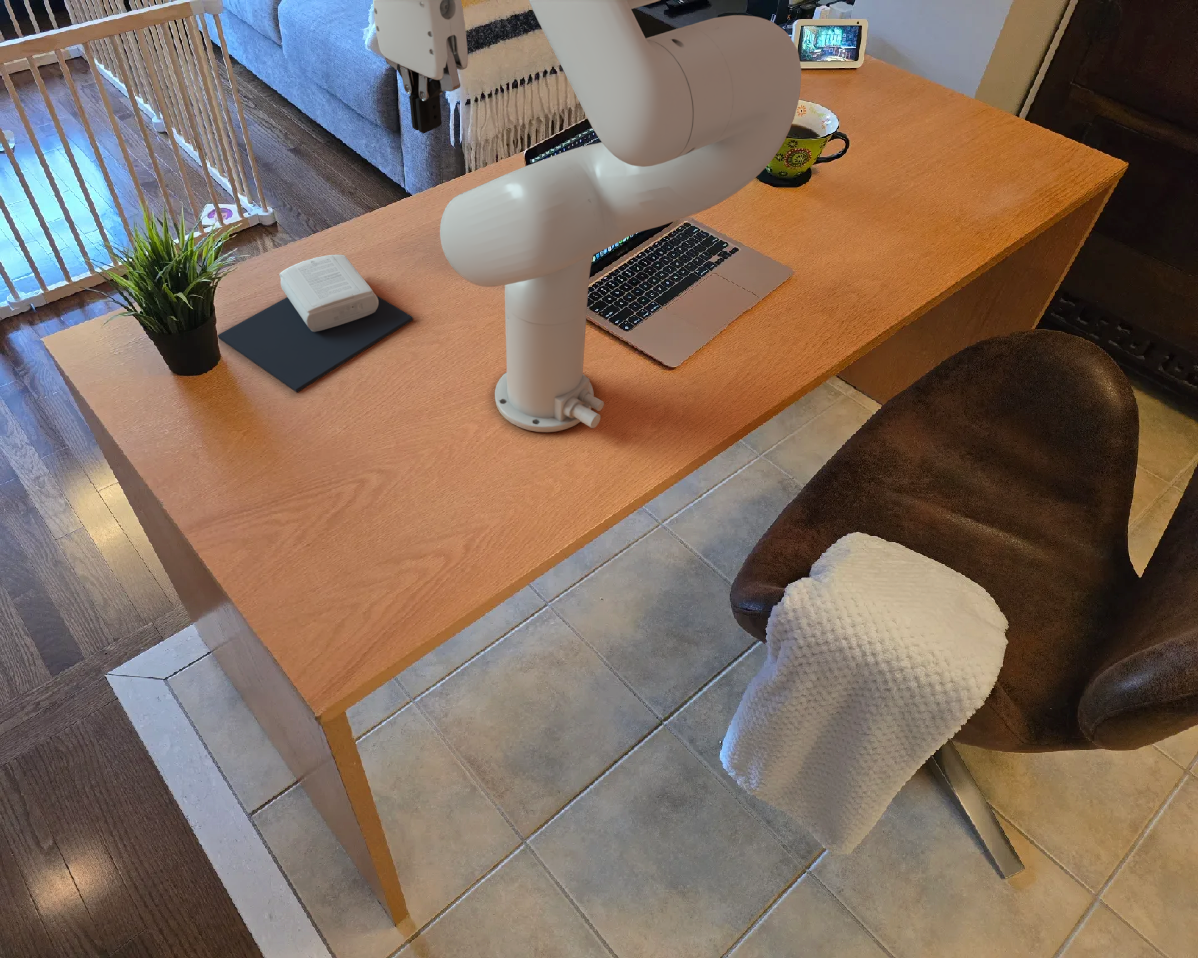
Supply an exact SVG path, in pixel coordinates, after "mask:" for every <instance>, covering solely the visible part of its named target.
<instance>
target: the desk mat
mask: <svg viewBox="0 0 1198 958" xmlns="http://www.w3.org/2000/svg"><path fill="white" fill-rule="evenodd" d="M375 295H376V296H377V298H378V307H377V309H376V311H375V312H374V313H372V314H370V315H367V316H365V317H362V318H359V319H356V320H353V321H350V322H347V323H344V324H341V325H338V326H335V327H332V328H328V329H325V330H321V331H316V332H313V331H311V330H310V328H309V327H308V326H307V325H306V323H305V322H304V320H303V319H302V317H301V316H300V315H299V313H298V312H297V310H296V309H295V307H294V306H293V304H292V303H291V301H290V300H289V299H288V297H287V296H286V297H285V298H283V299H281V300H279V301H278V302H275V303H274V304H272V305H270V306H269V307H266V308H265V309H262V310H261V311H259V312H257V313H255V314H254V315H252V316H249V317H248V318H246V319H244V320H243V321H241V322H239V323H237V324H235V325H234V326H232V327H229V328H228V329H226V330H224V331H222V332H221V333H219V334H217V337H218V339H219V340H220V341H222V342H223V343H225V344H226V345H227V346H228V347H230V348H232V349H233V350H235V351H236V352H238V353H239V354H241V355H242V356H244V357H245V358H246V359H248V360H249V361H251V362H252V363H253V364H255V365H256V366H258V367H259V368H261V369H262V370H264V371H265V372H266V373H268V374H270V375H271V376H272V377H273V378H275V379H277V380H278V381H280V383H282V384H284V385H285V386H286V387H288V388H289V389H291V390H292V391H294V392H295V393H299V392H301V391H302V390H303V389H305V388H307V387H308V386H310V385H312V384H313V383H315V382H317V381H318V380H321V378H323V377H324V376H326V375H328V374H329V373H331V372H333V371H334V370H336V369H337V368H339V367H341V366H342V365H344V364H345V363H347V362H349V361H350V360H352V359H354V358H355V357H356V356H358V355H360V354H361V353H363V352H364V351H366V350H368V349H369V348H371V347H372V346H374V345H376V344H377V343H379V342H380V341H382V340H384V339H385V338H387V337H388V336H390V335H391V334H394V333H395V332H397V331H398V330H400V329H402V328H403V327H405V326H406V325H408V324H410V323H411V322H412V321H414V316H412V315H410V314H408V313H407V312H406V311H404V310H402V309H400V308H399V307H397V306H396V305H394V304H392V303H390V302H388V301H387V300H386V299H384V298H382V297H380V296H378V294H375Z"/></svg>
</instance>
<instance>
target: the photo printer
mask: <svg viewBox="0 0 1198 958" xmlns="http://www.w3.org/2000/svg"><path fill="white" fill-rule="evenodd" d="M278 275H279V279H280V287H281V289H282V291H283V293H284V294H285V296H286V297H288V299H289V300H290V301H291V303H292V304H293V306H294V307H295V309H296V310H297V312H298V313H299V315H300V316H301V317H302V319H303V320H304V322H305V323H306V325H307V326H308V327H309V328H310V330H311V331H313V332H316V331H321V330H325V329H328V328H332V327H335V326H338V325H341V324H344V323H347V322H350V321H353V320H356V319H359V318H362V317H365V316H367V315H370V314H372V313H374V312H375V311H376V309H377V307H378V298H377V296H378V295H377V294H375V291H373V289H372V287H371V286H370V285H369V283H368V282H367V281H366V280H365V279H364V277H363V276H362V275H361V273H360V272H359V271H358V270H357V269H356V267H355V266H354V265H353V263H351V261H350V260H349V259H348V257H347V256H346V255H345V254H329V255H322V256H316V257H313V258H308V259H306V260H303V261H301V262H297V263H295V264H293V265H291V266H289V267H287V268H285V269H283V270H282V271H281V272H279V274H278ZM376 295H377V296H376Z"/></svg>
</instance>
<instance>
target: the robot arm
mask: <svg viewBox="0 0 1198 958" xmlns="http://www.w3.org/2000/svg"><path fill="white" fill-rule="evenodd" d="M528 2H529V4H530V7H531V9H532V12H533V13H534V16H535V18H536V19H537V22H538V24H539V26H540V27H541V29H542V31H543V34H544V36H545V38H546V39H547V41H548V43H549V45H550V47H551V49H552V52H553V53H554V55H555V58H556V59H557V61H558V63H559V65H560V67H561V68H562V70H563V72H564V74H565V76H566V78H567V80H568V82H569V84H570V86H571V89H572V91H573V92H574V94H575V96H576V98H577V100H578V102H579V104H580V106H581V108H582V110H583V113H584V114H585V116H586V118H587V120H588V122H589V124H590V126H591V128H592V129H593V131H594V133H595V134H596V136H597V137H598V139H599V141H601V142H598V143H597V142H596V143H592V144H587V145H583V146H579V147H575V148H572V149H569V150H566V151H563V152H561V153H558V154H555V155H553V156H550V157H547V158H545V159H542V160H539V161H536V162H533V163H531V164H528V165H525V166H523V167H520V168H518V169H517V168H516V169H515V170H513V171H510V172H507V173H505V174H503V175H501V176H498V177H496V178H494V179H491V180H489V181H487V182H485V183H483V184H480V185H478V186H475V187H473V188H471V189H469V190H466V191H463V192H462V193H459V194H457V195H456V196H454V197H453V198H452V199H451V200H450V201H449V202H448V203H447V205H446V206H445V208H444V210H443V212H442V215H441V219H440V224H439V239H440V245H441V248H442V251H443V254H444V256H445V258H446V260H447V262H448V263H449V265H450V266H451V268H452V269H453V270H454V271H455V272H456V273H457V274H458V275H459V276H460V277H461V278H463V279H464V280H465V281H467V282H468V283H470V284H473V285H475V286H478V287H481V288H496V287H497V288H498V287H502V286H504V318H505V319H504V325H505V359H506V360H505V361H506V372H505V373H504V374H502V376H500V378H499V379H498V381H497V383H496V385H495V389H494V401H495V405H496V408H497V410H498V411H499V414H501V416H502V417H503V418H504V419H505V420H507V421H508V422H509V423H510V424H512V425H514V426H516V427H518V428H520V429H523V430H527V431H532V432H536V433H554V432H561V431H563V430H567V429H570V428H572V427H574V426H577V424H580V423H582V424H584V425H585V426H587V427H588V428H591V429H595V428H596V427H597V426H598V425H599V424H600V421H601V418H602V417H601V414H599V413H597V412H600V411H602V409H603V408H604V407H605V402H604V401H603V400H602V399H600V398H598V397H596V396H595V395H594V394H595V393H594V388H593V385H592V382H591V381H590V380H591V379H590V378H589V377H587V376H586V375H585V374H584V363H585V362H584V361H585V346H586V331H587V330H586V329H587V315H588V314H587V313H588V312H587V311H588V300H589V299H588V297H589V287H590V286H589V285H590V275H591V267H592V262H593V258H594V255H596V254H598V253H600V252H602V251H604V250H606V249H608V248H610V247H612V246H615V244H618V243H619V242H621V241H623V240H625V239H626V238H629V237H631V236H633V235H635V234H638V233H641V232H645V231H647V230H651V229H655V228H658V227H662V226H664V225H667V224H670V223H673V222H675V221H679V220H682V219H686V218H688V217H691V216H693V215H696V214H699V213H702V212H704V211H707V210H709V209H711V208H713V207H715V206H718V205H719V204H721V203H723V202H724V201H726V200H728V199H729V198H731V197H732V196H734V195H735V194H737V193H738V192H740V191H741V190H742V189H743V188H745V187H746V186H748V185H749V184H750V183H751V182H752V181H753V180H754V179H756V178H757V177H758V176H759V175H760V174H761V173H762V172H763V171H764V170H765V169H766V168H767V166H768V165H769V164H770V163H771V162H772V160H773V159H774V158H775V157H776V155H777V153H778V152H779V151H780V149H781V147H782V146H783V144H784V142H785V141H786V139H787V137H788V134H789V132H790V130H791V127H792V124H793V122H794V120H795V116H796V112H797V110H798V106H799V100H800V95H801V88H802V87H801V86H802V65H801V60H800V55H799V51H798V48H797V47H796V44H795V43H794V41H793V39H792V38H791V36H790V35H789V34H788V32H786V31H785V30H784V29H783V28H782V27H780V25H777V24H776V23H775V22H773V21H771V20H768V19H766V18H763V17H760V16H755V15H754V16H753V15H744V14H738V15H737V14H733V15H725V16H719V17H718V16H717V17H713V18H708V19H705V20H702V21H699V22H695V23H693V24H688V25H685V26H682V27H678V28H675V29H672V30H669V31H665V32H663V33H659V34H655V35H652V36H649V37H646V36H645V35H644V32H643V31H642V28H641V27H640V24H639V22H638V20H637V18H636V16H635V14H634V12H633V9H636V8H640V7H643V6H647V5H651V4H653V3H656V2H660V0H528ZM373 15H374V26H375V34H376V40H377V45H378V49H379V51H380V53H381V54H382V56H384V58H385V59H384V60H385V61H386V63H387V64H388V65H390V67H392V68H393V69H394V70H395V71H397V73H398V74H399V76H400V77H401V80H402V84H403V89H404V92H405V93H406V94H407V95H408V100H409V107H410V108H409V109H410V118H411V126H412V129H413V130H415V131H419V133H421V134H426V133H428V132H431V131H433V130H435V129H437V128H439V127H441V125H442V123H443V122H442V110H441V97H440V95H442V94H443V93H444V92H454V91H456V90H458V89H459V88H461V81H460V76H459V72H458V70H459V71H461V70H462V71H463V70H465V69H467V68H468V65H469V53H468V51H469V50H468V40H467V30H466V22H465V14H464V8H463V4H462V0H373ZM592 409H593V410H592ZM596 411H597V412H596Z"/></svg>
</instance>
